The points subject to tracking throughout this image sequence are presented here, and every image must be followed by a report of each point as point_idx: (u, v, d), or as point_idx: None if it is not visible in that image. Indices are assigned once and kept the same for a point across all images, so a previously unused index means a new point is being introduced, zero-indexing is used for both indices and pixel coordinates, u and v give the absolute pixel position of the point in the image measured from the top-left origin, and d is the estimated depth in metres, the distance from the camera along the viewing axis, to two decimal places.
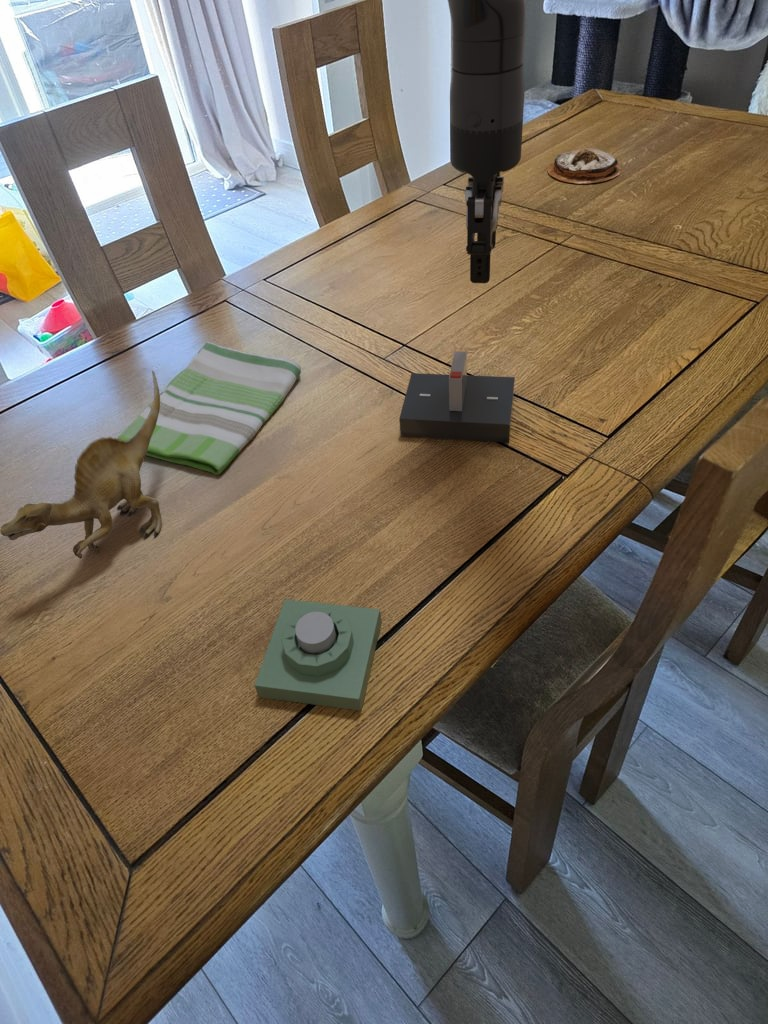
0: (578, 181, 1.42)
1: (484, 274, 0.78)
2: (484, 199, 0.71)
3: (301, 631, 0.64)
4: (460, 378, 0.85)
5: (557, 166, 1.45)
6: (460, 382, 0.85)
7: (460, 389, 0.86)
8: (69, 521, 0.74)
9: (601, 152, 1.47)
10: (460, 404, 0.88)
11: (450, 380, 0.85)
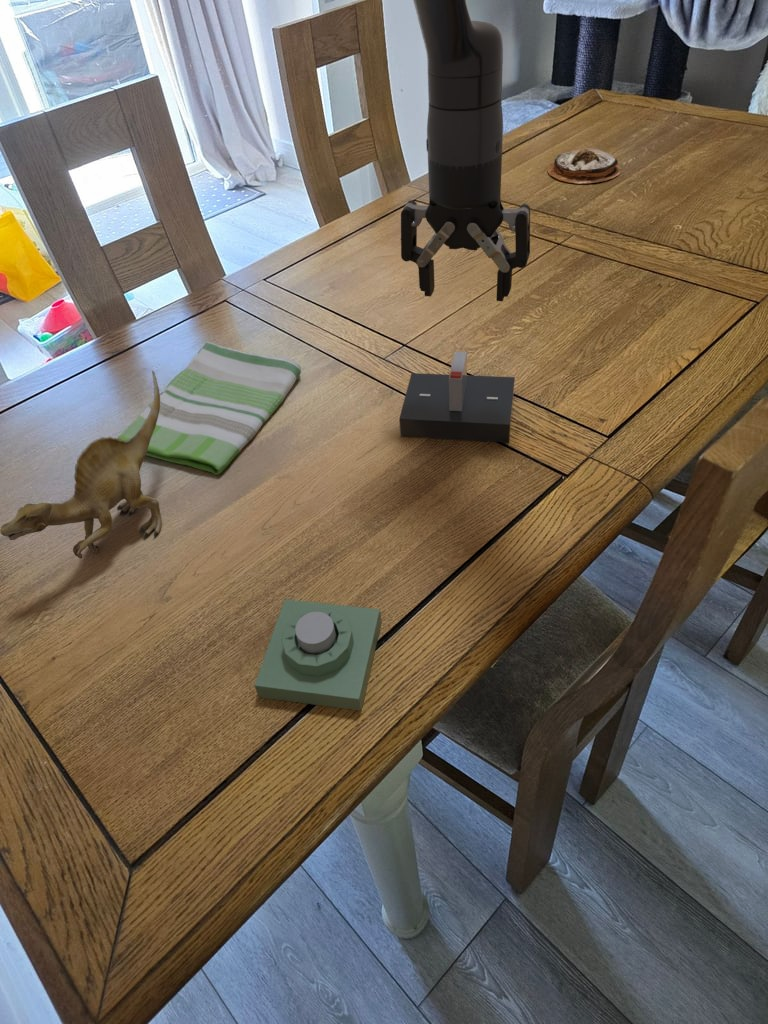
0: (578, 181, 1.42)
1: None
2: (526, 208, 0.73)
3: (301, 631, 0.64)
4: (460, 378, 0.85)
5: (557, 166, 1.45)
6: (460, 382, 0.85)
7: (460, 389, 0.86)
8: (69, 521, 0.74)
9: (601, 152, 1.47)
10: (460, 404, 0.88)
11: (450, 380, 0.85)
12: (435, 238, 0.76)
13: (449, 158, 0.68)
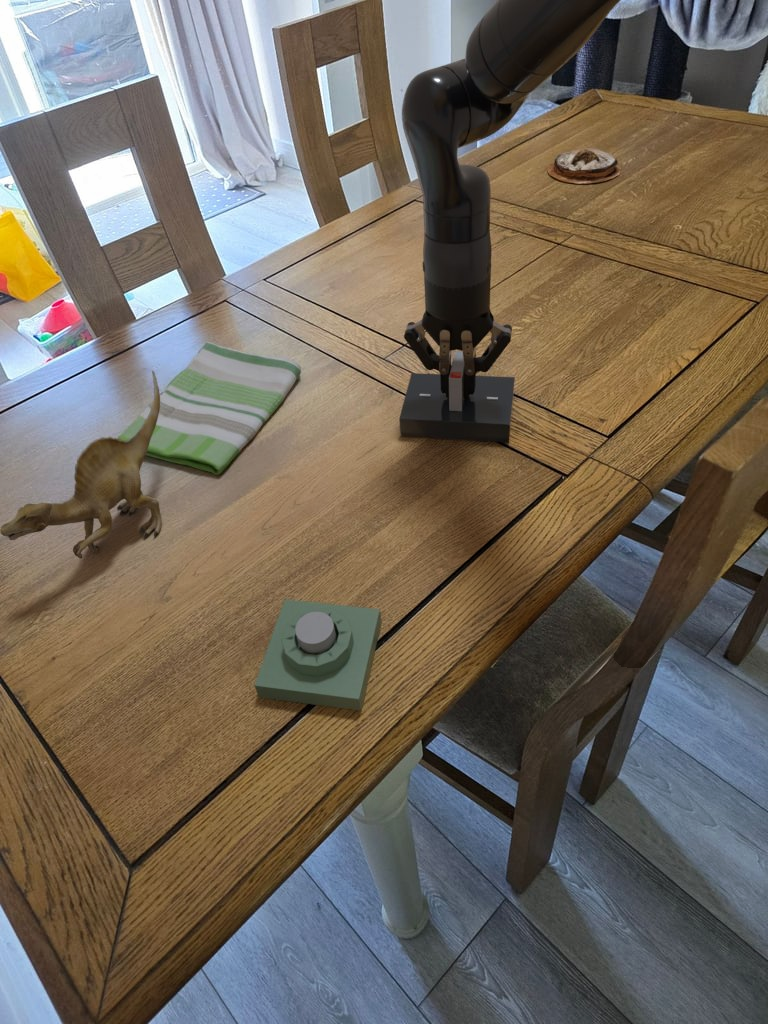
0: (578, 181, 1.42)
1: (475, 383, 0.89)
2: (510, 330, 0.83)
3: (301, 631, 0.64)
4: (460, 378, 0.85)
5: (557, 166, 1.45)
6: (460, 382, 0.85)
7: (460, 389, 0.86)
8: (69, 521, 0.74)
9: (601, 152, 1.47)
10: (460, 404, 0.88)
11: (450, 380, 0.85)
12: (440, 348, 0.84)
13: (446, 281, 0.75)
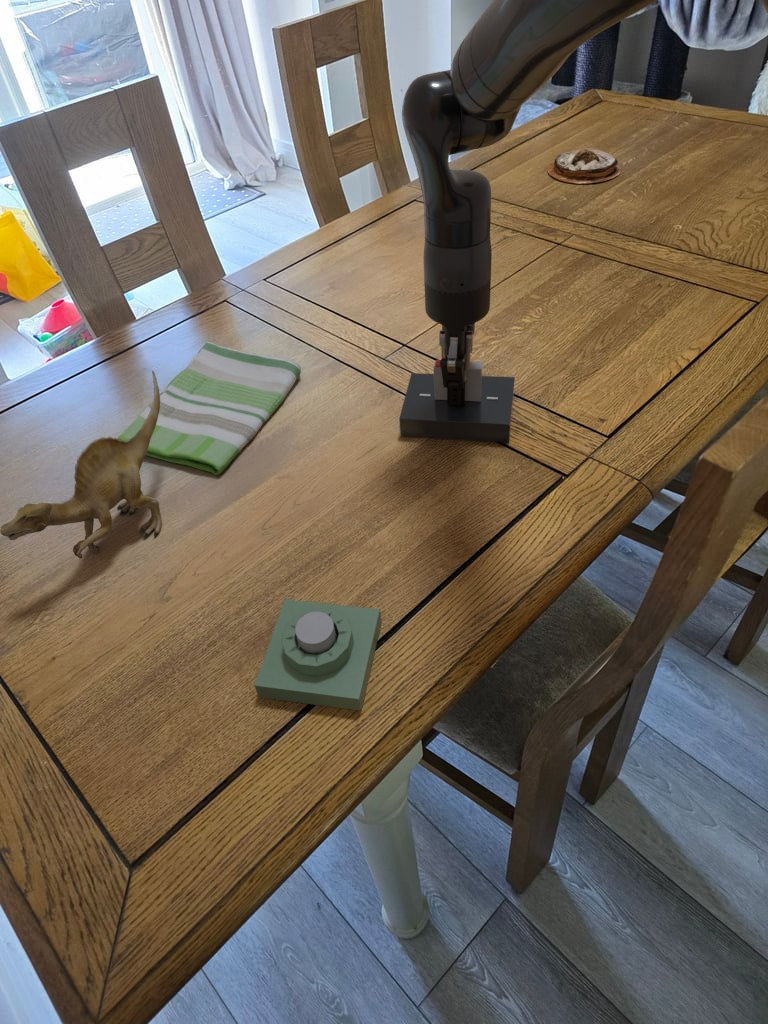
0: (578, 181, 1.42)
1: (459, 401, 0.88)
2: (455, 364, 0.79)
3: (301, 631, 0.64)
4: (434, 366, 0.87)
5: (557, 166, 1.45)
6: None
7: None
8: (69, 521, 0.74)
9: (601, 152, 1.47)
10: (434, 392, 0.90)
11: None
12: None
13: None
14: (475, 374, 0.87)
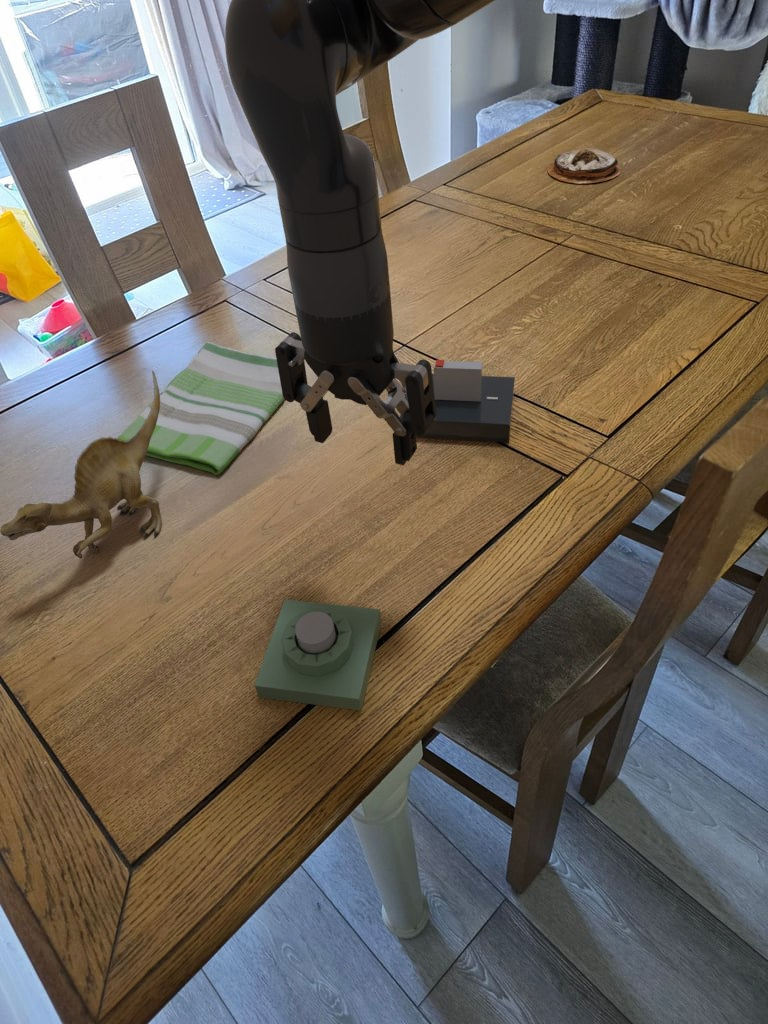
0: (578, 181, 1.42)
1: (416, 445, 0.62)
2: (423, 366, 0.56)
3: (301, 631, 0.64)
4: (434, 366, 0.87)
5: (557, 166, 1.45)
6: None
7: None
8: (69, 521, 0.74)
9: (601, 152, 1.47)
10: (434, 392, 0.90)
11: None
12: (315, 385, 0.60)
13: (307, 305, 0.51)
14: (475, 374, 0.87)
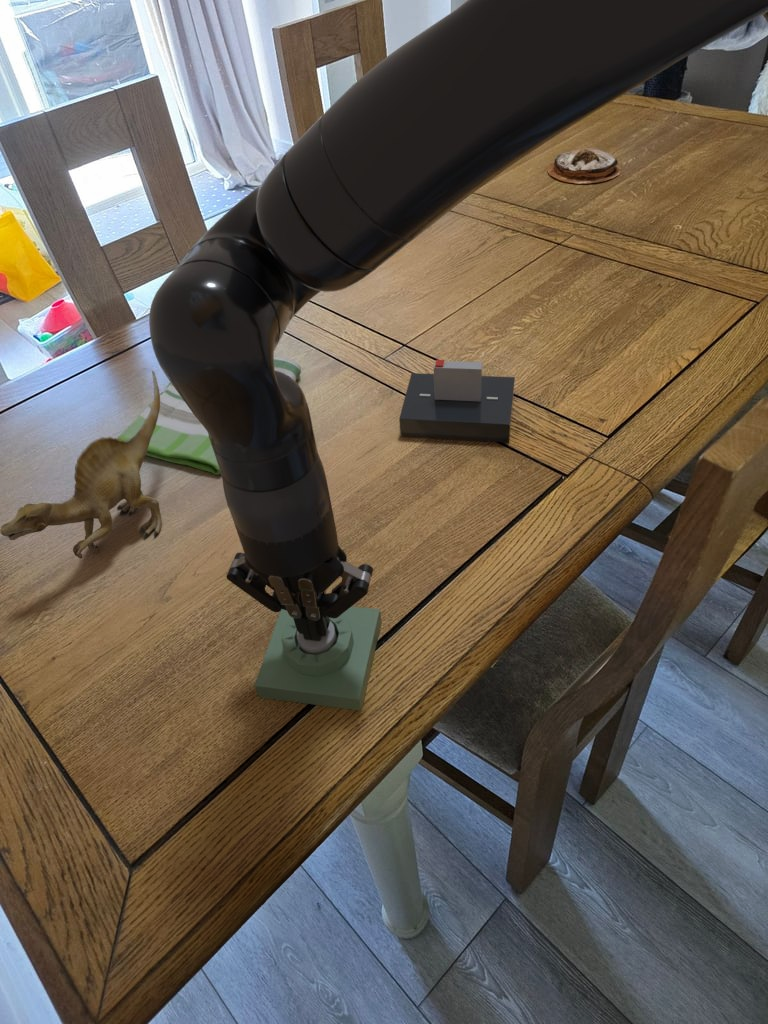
0: (577, 181, 1.42)
1: (329, 620, 0.64)
2: (370, 574, 0.58)
3: (302, 636, 0.65)
4: (434, 366, 0.87)
5: (557, 166, 1.45)
6: None
7: None
8: (69, 521, 0.74)
9: (601, 152, 1.47)
10: (434, 392, 0.90)
11: None
12: (278, 593, 0.58)
13: (255, 534, 0.50)
14: (475, 374, 0.87)
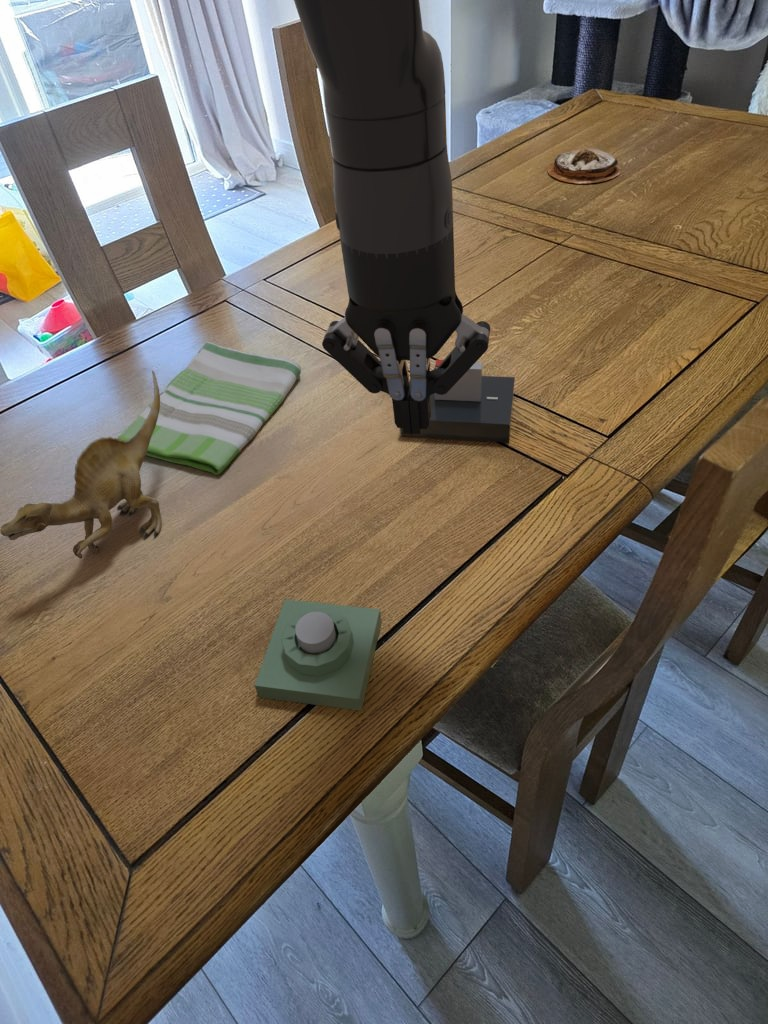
0: (578, 181, 1.42)
1: (430, 411, 0.57)
2: (488, 331, 0.51)
3: (301, 631, 0.64)
4: (434, 366, 0.87)
5: (557, 166, 1.45)
6: None
7: None
8: (69, 521, 0.74)
9: (601, 152, 1.47)
10: None
11: None
12: (382, 358, 0.51)
13: (373, 242, 0.43)
14: (475, 374, 0.87)
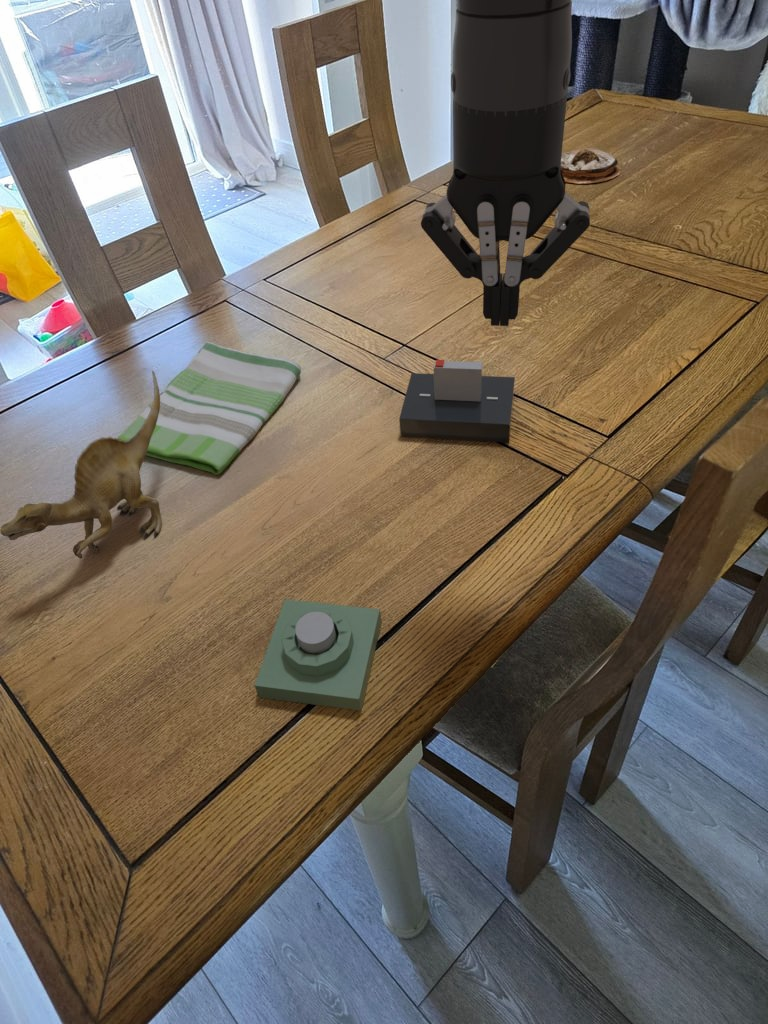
0: (577, 181, 1.42)
1: (518, 302, 0.57)
2: (588, 211, 0.51)
3: (301, 631, 0.64)
4: (434, 366, 0.87)
5: None
6: None
7: None
8: (69, 521, 0.74)
9: (601, 152, 1.47)
10: (434, 392, 0.90)
11: None
12: (481, 237, 0.52)
13: (494, 99, 0.43)
14: (475, 374, 0.87)
